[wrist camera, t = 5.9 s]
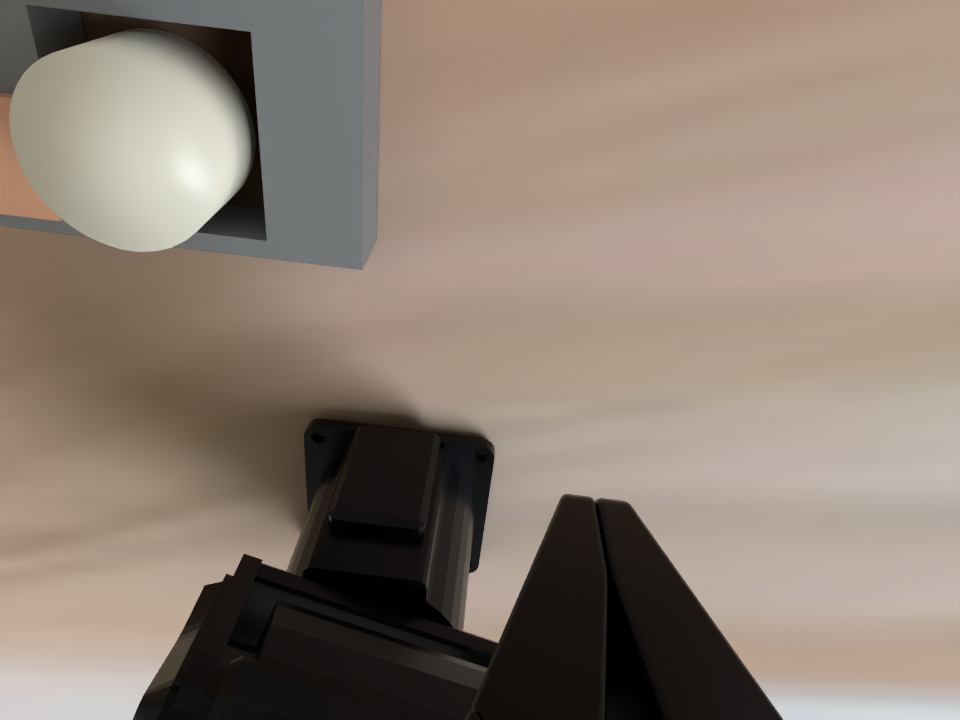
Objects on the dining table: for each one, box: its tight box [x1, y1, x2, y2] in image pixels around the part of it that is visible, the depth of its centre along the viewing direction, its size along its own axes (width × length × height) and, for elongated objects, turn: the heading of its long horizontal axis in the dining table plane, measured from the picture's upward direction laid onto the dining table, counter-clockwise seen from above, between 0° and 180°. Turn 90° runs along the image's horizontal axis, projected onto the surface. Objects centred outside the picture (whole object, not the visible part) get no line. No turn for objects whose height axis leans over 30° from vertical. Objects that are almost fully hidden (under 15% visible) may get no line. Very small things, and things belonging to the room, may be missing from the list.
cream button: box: [9, 28, 256, 252], centre depth 16 cm, size 4×4×3 cm
